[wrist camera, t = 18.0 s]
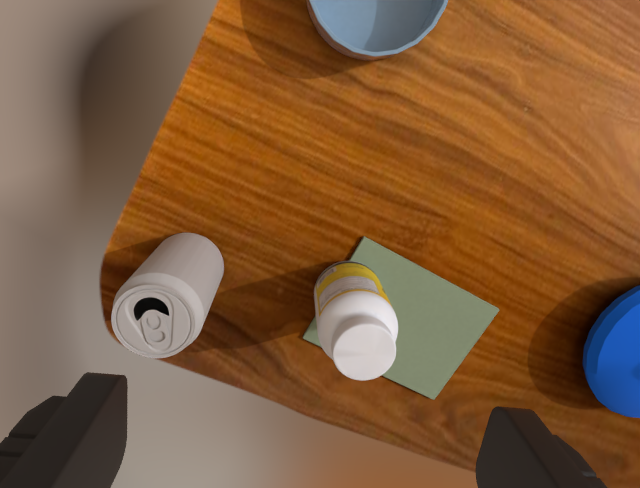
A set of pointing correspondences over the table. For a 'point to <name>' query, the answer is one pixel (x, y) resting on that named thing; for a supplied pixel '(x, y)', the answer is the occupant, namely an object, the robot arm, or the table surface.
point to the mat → (422, 319)
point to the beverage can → (168, 296)
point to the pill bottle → (355, 320)
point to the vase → (616, 355)
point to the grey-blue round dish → (374, 24)
